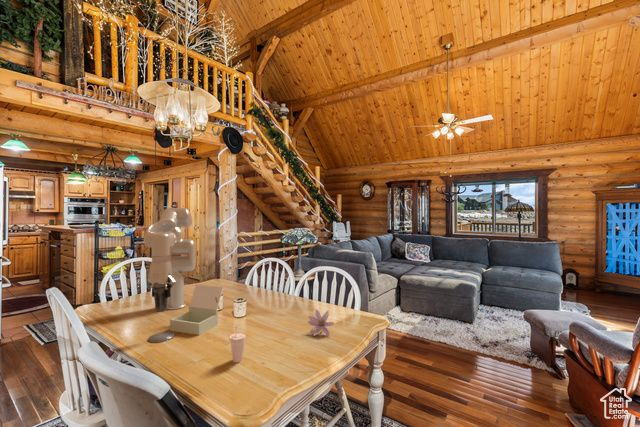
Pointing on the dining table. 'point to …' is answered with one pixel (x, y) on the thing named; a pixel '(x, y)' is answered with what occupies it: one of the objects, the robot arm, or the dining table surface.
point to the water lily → (320, 323)
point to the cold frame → (199, 311)
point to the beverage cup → (160, 297)
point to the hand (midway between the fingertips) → (161, 296)
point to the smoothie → (237, 346)
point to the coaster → (161, 337)
